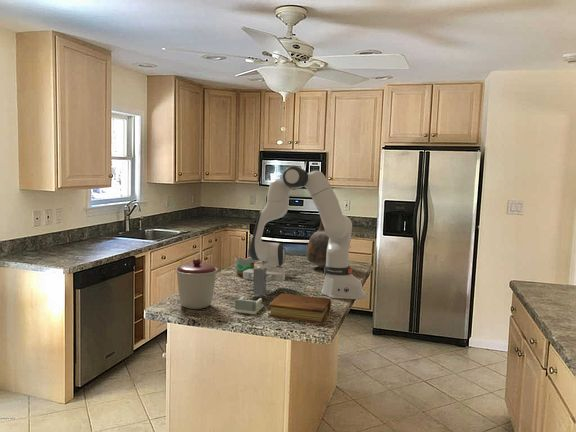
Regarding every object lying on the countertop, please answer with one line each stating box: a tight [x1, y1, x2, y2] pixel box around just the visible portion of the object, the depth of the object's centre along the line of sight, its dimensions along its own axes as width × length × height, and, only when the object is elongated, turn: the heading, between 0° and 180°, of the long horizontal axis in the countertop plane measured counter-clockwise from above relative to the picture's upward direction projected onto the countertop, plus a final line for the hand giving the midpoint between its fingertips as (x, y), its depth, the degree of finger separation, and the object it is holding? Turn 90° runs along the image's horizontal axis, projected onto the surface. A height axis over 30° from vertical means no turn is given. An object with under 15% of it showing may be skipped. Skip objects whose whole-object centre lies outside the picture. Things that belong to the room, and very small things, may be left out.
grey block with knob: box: [253, 266, 267, 296], centre depth 219 cm, size 5×5×13 cm
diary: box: [268, 292, 332, 324], centre depth 202 cm, size 23×19×6 cm
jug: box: [306, 219, 329, 270], centre depth 290 cm, size 24×21×30 cm
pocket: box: [232, 295, 264, 315], centre depth 204 cm, size 10×11×5 cm
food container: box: [234, 256, 256, 278], centre depth 264 cm, size 12×6×10 cm, turn 68°
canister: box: [175, 258, 219, 310], centre depth 205 cm, size 18×18×21 cm
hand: (259, 278), depth 218 cm, fingers closed on grey block with knob, 5 cm apart
